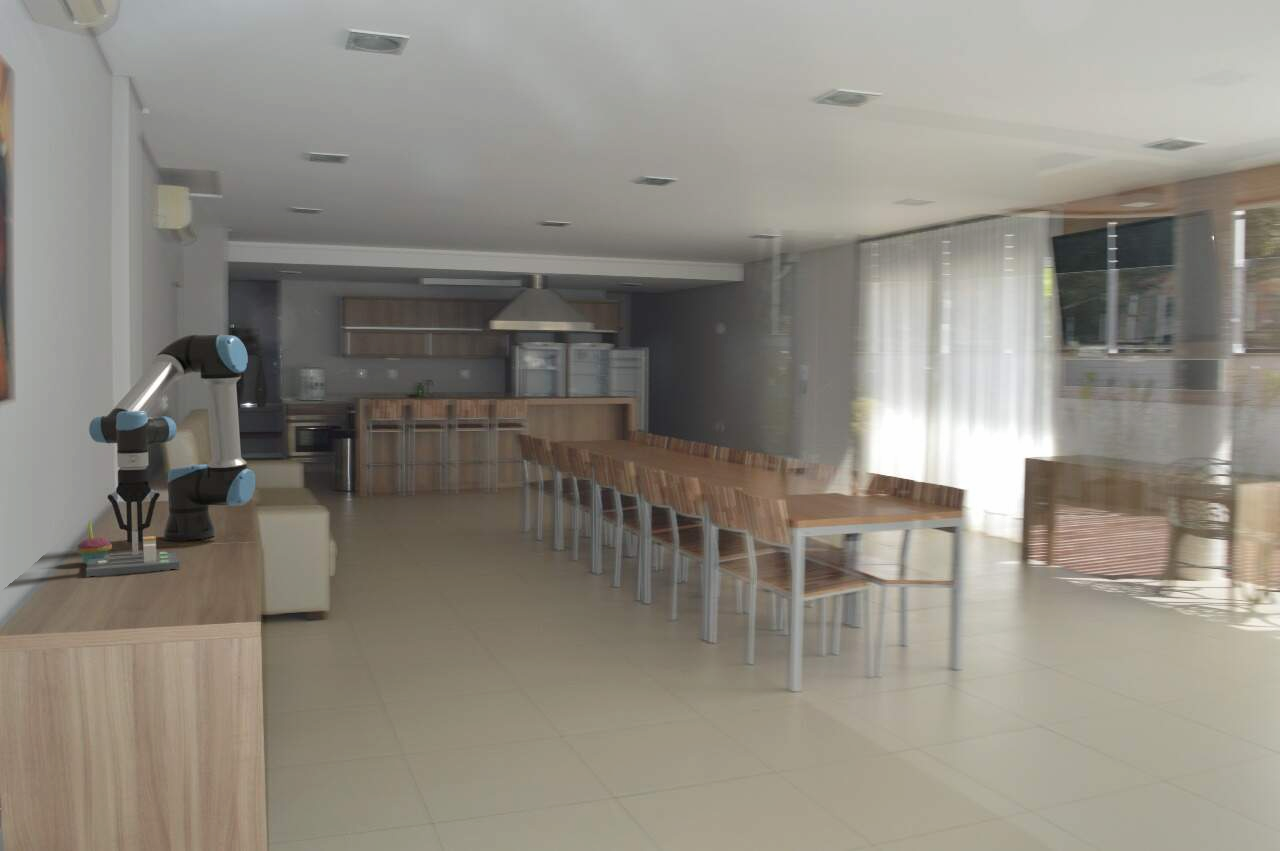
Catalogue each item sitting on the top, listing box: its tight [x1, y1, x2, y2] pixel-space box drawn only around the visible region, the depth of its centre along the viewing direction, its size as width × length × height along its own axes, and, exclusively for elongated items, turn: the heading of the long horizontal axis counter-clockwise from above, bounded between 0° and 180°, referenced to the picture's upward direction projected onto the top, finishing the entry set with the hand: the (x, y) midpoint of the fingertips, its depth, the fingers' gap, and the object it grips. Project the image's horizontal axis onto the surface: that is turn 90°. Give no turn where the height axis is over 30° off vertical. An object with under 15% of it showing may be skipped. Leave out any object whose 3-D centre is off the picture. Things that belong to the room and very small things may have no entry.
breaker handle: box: [143, 536, 157, 545], centre depth 270 cm, size 3×3×6 cm
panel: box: [85, 535, 180, 578], centre depth 268 cm, size 18×22×7 cm
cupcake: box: [76, 520, 113, 565], centre depth 274 cm, size 9×8×12 cm
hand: (135, 554), depth 268 cm, fingers closed
